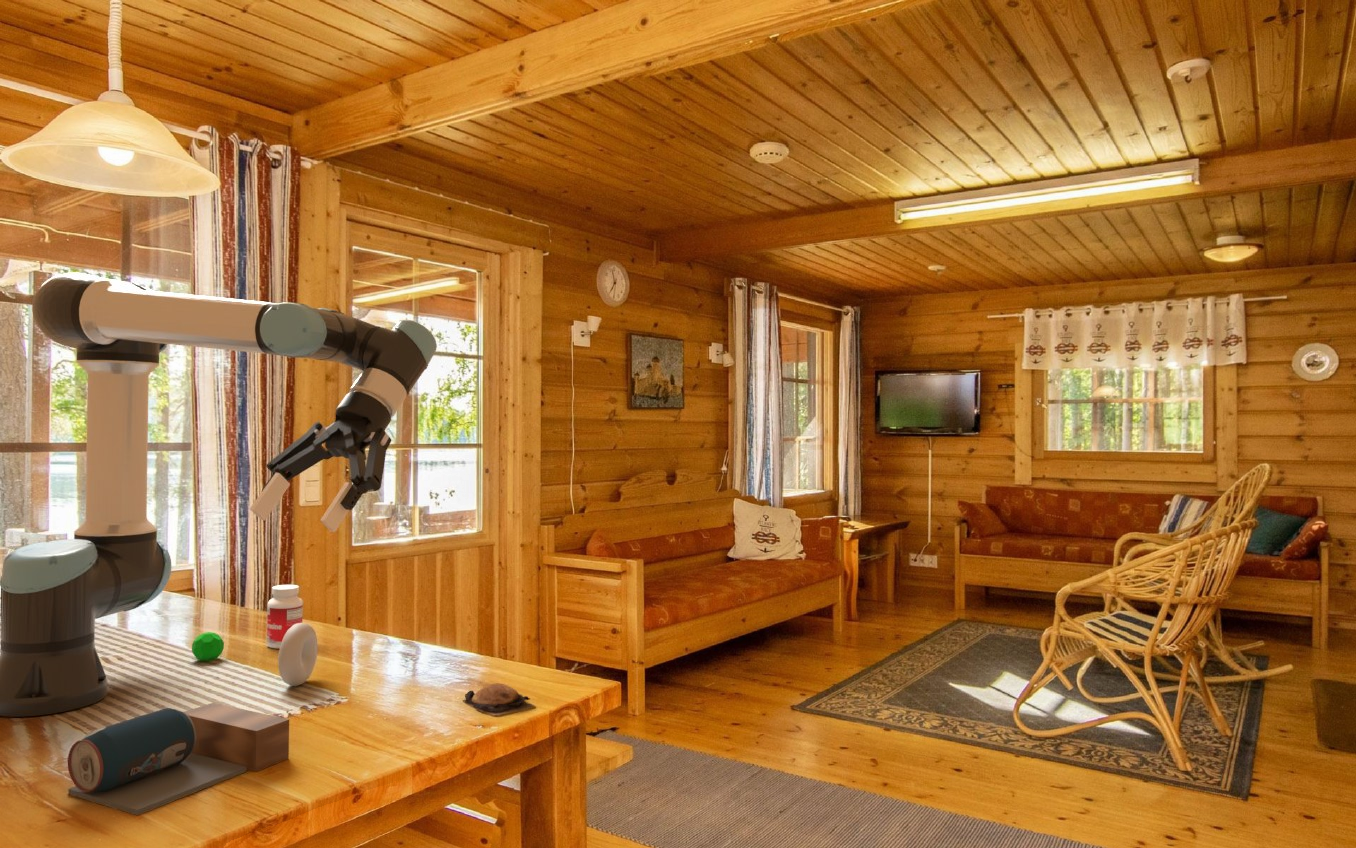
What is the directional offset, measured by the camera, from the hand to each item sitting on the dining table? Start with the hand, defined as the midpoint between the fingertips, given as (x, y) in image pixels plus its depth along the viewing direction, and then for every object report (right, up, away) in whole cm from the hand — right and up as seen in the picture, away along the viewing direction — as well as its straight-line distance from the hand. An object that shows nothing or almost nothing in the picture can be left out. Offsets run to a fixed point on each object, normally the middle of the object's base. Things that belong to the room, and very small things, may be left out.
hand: (291, 520), depth 128 cm
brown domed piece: (+26, -30, +14) cm, 42 cm away
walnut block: (-3, -29, -10) cm, 31 cm away
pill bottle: (-21, -28, +46) cm, 58 cm away
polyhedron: (-29, -28, +34) cm, 53 cm away
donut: (-8, -29, +21) cm, 37 cm away
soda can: (-8, -25, -14) cm, 29 cm away
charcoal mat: (-8, -29, -19) cm, 35 cm away
